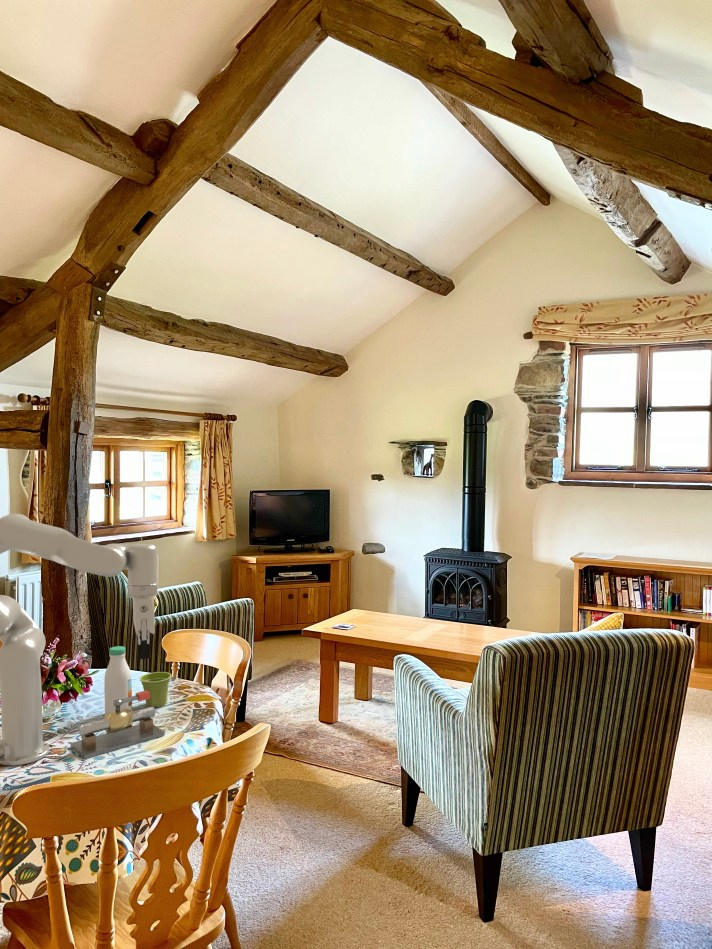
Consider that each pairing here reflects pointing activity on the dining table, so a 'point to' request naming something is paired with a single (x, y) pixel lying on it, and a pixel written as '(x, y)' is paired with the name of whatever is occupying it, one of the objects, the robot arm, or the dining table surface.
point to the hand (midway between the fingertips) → (143, 657)
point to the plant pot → (156, 687)
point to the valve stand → (116, 732)
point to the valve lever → (133, 698)
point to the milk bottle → (117, 680)
